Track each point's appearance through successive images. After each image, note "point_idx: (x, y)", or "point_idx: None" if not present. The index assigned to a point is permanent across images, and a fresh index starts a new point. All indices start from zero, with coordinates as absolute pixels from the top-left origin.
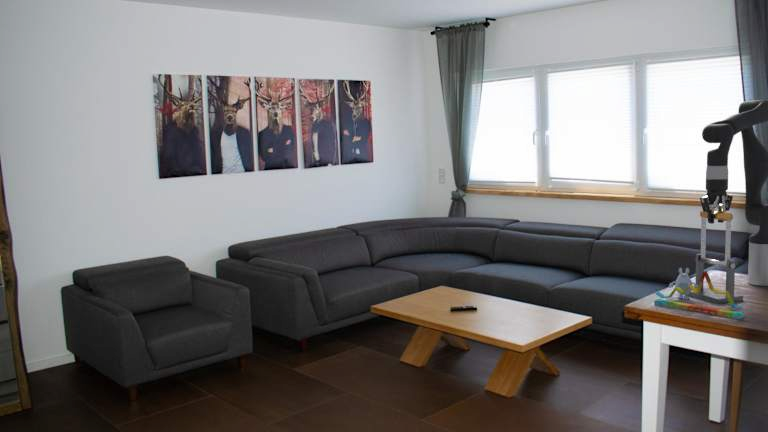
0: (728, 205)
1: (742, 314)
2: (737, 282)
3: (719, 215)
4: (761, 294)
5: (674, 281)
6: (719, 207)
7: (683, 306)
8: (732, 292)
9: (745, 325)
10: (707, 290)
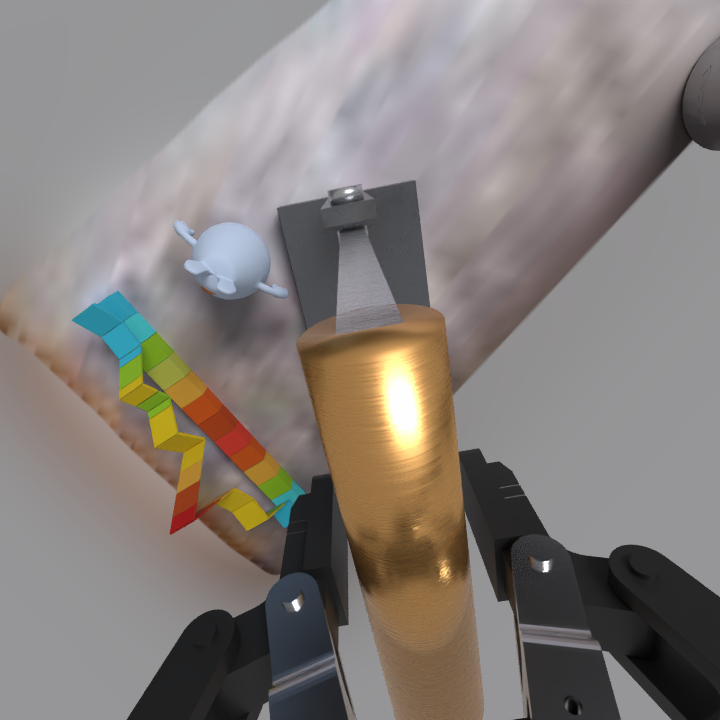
0: (684, 715)
1: None
2: (673, 17)
3: (378, 650)
4: (564, 276)
5: (188, 242)
6: (545, 629)
7: (171, 394)
8: None
9: (267, 546)
10: None
